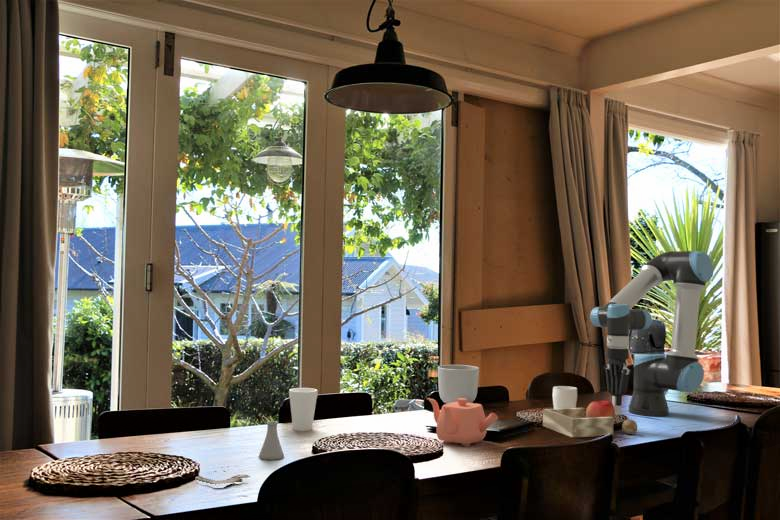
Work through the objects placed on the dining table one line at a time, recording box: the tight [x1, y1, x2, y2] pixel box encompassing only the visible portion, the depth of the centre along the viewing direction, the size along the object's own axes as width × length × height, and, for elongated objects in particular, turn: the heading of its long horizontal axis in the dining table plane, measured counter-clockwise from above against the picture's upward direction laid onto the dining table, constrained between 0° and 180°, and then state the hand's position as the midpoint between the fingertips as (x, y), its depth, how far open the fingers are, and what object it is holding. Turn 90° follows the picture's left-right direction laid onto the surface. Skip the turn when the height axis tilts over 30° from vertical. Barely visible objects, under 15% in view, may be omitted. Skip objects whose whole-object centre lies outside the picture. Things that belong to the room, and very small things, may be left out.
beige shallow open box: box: [542, 407, 615, 438], centre depth 266 cm, size 16×19×6 cm
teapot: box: [426, 397, 499, 447], centre depth 243 cm, size 18×18×14 cm
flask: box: [258, 420, 285, 461], centre depth 217 cm, size 7×7×10 cm
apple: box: [585, 400, 616, 422], centre depth 269 cm, size 10×10×10 cm
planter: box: [437, 364, 480, 404], centre depth 313 cm, size 17×17×15 cm
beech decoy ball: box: [621, 418, 639, 435], centre depth 262 cm, size 5×5×5 cm
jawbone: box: [195, 474, 251, 485], centre depth 191 cm, size 9×20×2 cm, turn 72°
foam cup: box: [288, 387, 318, 432], centre depth 258 cm, size 10×9×13 cm
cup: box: [551, 385, 578, 409], centre depth 285 cm, size 9×9×12 cm
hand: (616, 414), depth 271 cm, fingers closed
